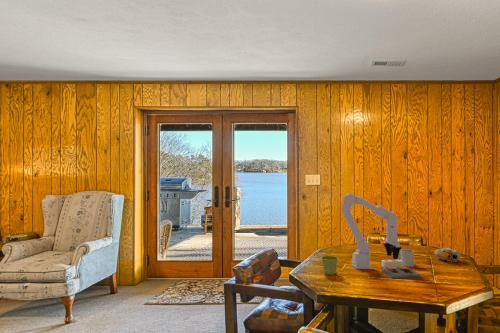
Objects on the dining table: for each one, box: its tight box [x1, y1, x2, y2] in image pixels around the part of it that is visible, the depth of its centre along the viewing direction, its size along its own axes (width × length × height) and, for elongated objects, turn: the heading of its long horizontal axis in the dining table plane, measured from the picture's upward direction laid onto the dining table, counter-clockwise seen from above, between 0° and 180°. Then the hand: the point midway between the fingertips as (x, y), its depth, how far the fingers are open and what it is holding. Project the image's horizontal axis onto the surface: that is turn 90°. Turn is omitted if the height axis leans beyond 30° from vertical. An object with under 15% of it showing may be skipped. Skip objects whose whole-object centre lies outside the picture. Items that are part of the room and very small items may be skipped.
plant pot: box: [320, 255, 339, 276], centre depth 187 cm, size 9×9×9 cm
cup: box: [396, 248, 415, 268], centre depth 204 cm, size 7×10×9 cm
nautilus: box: [433, 247, 462, 265], centre depth 211 cm, size 8×21×15 cm
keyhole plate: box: [381, 267, 422, 279], centre depth 185 cm, size 16×12×2 cm
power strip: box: [381, 259, 404, 269], centre depth 195 cm, size 11×4×5 cm, turn 92°
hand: (392, 257), depth 195 cm, fingers open, 7 cm apart
